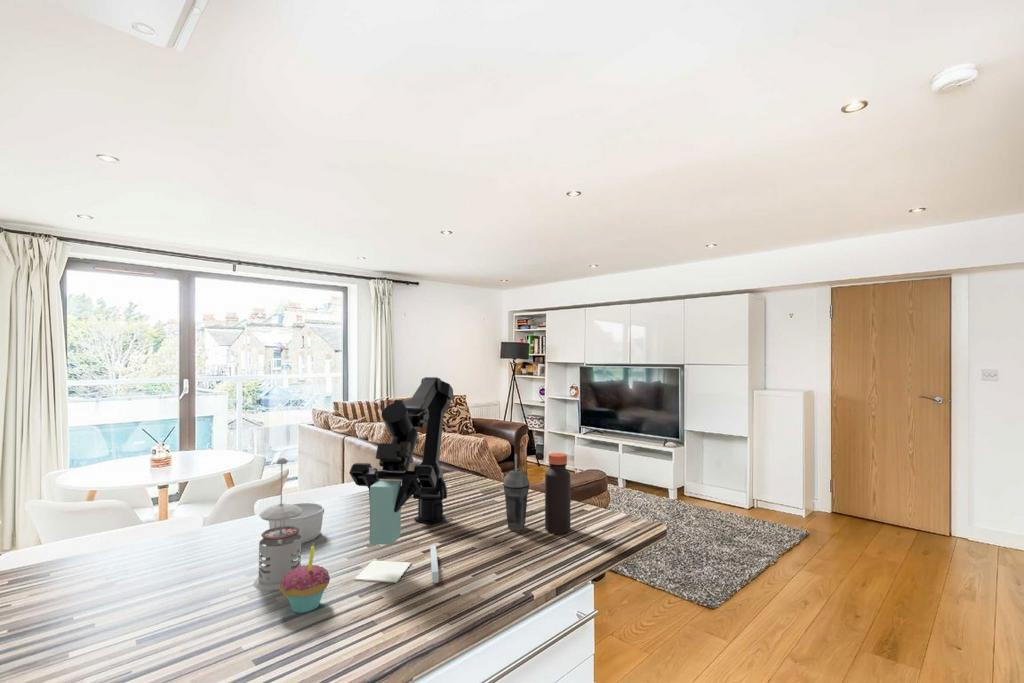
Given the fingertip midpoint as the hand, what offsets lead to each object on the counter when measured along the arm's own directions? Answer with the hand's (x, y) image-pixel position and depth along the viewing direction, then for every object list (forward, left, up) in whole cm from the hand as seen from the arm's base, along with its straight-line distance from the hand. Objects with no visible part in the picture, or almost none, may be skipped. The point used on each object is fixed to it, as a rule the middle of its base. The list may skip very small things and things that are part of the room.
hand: (383, 510), depth 102 cm
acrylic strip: (+7, +8, -13) cm, 17 cm away
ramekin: (-35, +2, -14) cm, 37 cm away
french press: (-17, -13, -14) cm, 25 cm away
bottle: (+18, +44, -14) cm, 50 cm away
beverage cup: (+8, +39, -14) cm, 42 cm away
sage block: (-1, +1, -7) cm, 7 cm away
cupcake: (-2, -17, -14) cm, 22 cm away
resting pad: (-1, +1, -13) cm, 13 cm away
